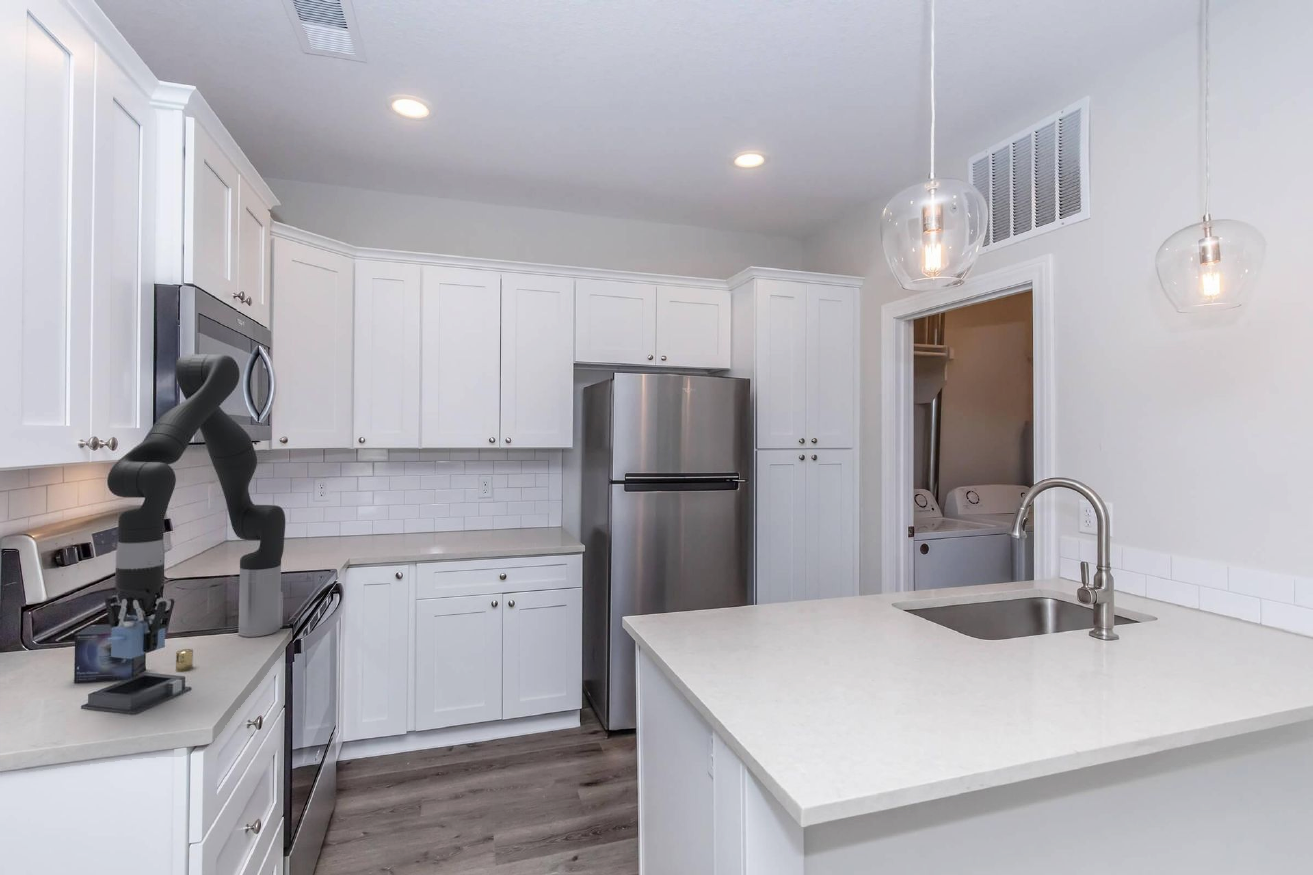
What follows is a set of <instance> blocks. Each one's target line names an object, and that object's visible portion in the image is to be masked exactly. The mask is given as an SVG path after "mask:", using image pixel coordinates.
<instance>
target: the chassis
mask: <svg viewBox="0 0 1313 875" xmlns="http://www.w3.org/2000/svg"><path fill="white" fill-rule="evenodd" d="M191 690H192V687H191V686H186V675H185V676H184V675H176V674H167V673H158V672H157V673H156V672H148V671H145V672H142V673H140V674H139V675H137V676H134V677H132V678H129V679H127V680H120V682H116V683H114V684H112V685H108V686H106V687H104V688H101V689H98V690H96V691H93V692H91V693H89V694H87V703H85V704H81V705H80V710H81V709H83V710H91V711H99V712H108V713H109V712H110V713H115V714H116V713H117V714H123V715H124V714H126V715H133V716H134V715H137V714H140V713H142V712H144V711H147V710H149V709H151V708H154V707H155V706H157V705H160V704H162V703H164V702H166V701H169V700H170V699H174V698H177V697H178V696H180V695H182V694H184V693H187V692H189V691H191Z"/></svg>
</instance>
